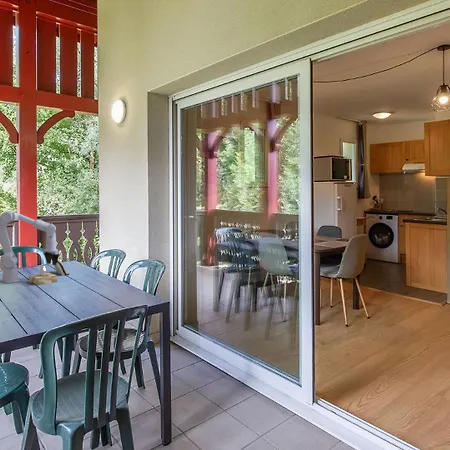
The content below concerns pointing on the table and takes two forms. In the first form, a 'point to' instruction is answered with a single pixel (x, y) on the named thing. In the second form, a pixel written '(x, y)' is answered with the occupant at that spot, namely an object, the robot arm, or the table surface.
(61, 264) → the grey stapler
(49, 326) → the table surface
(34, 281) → the knuckle block
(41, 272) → the peg
